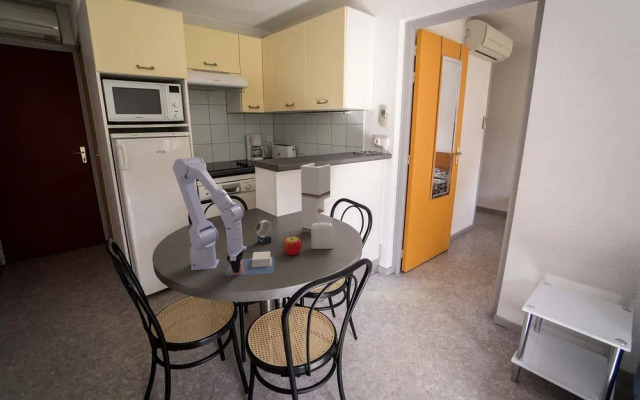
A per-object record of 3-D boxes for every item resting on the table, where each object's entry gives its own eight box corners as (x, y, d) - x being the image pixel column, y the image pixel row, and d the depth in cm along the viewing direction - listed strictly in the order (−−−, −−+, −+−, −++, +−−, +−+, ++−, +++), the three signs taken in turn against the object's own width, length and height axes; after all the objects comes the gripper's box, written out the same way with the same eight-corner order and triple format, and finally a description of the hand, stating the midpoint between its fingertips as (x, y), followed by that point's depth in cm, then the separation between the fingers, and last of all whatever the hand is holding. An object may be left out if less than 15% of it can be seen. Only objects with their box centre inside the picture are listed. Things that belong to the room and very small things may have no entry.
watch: (254, 242, 146) (252, 221, 143) (269, 238, 151) (268, 217, 148) (259, 246, 142) (258, 224, 139) (274, 242, 147) (273, 220, 144)
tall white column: (319, 234, 156) (318, 167, 147) (302, 231, 161) (300, 165, 152) (330, 228, 165) (330, 164, 156) (313, 224, 170) (313, 163, 161)
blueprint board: (225, 277, 114) (225, 276, 114) (231, 260, 127) (231, 259, 127) (273, 274, 116) (273, 272, 116) (274, 258, 130) (274, 256, 130)
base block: (252, 266, 121) (252, 259, 121) (254, 258, 128) (253, 252, 127) (270, 265, 122) (269, 258, 121) (270, 257, 129) (270, 251, 128)
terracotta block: (231, 274, 115) (230, 265, 114) (232, 269, 119) (232, 260, 118) (242, 273, 116) (241, 264, 115) (243, 268, 119) (242, 259, 118)
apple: (292, 248, 139) (291, 228, 137) (306, 253, 134) (305, 232, 131) (279, 254, 133) (278, 233, 130) (293, 260, 128) (292, 238, 125)
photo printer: (311, 249, 138) (310, 224, 135) (311, 245, 142) (311, 221, 139) (333, 249, 138) (333, 224, 135) (333, 245, 142) (333, 221, 139)
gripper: (243, 243, 107) (245, 278, 111) (247, 229, 121) (249, 260, 124) (222, 245, 106) (225, 279, 110) (229, 230, 120) (231, 261, 124)
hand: (237, 269), depth 117 cm, fingers closed on terracotta block, 4 cm apart
